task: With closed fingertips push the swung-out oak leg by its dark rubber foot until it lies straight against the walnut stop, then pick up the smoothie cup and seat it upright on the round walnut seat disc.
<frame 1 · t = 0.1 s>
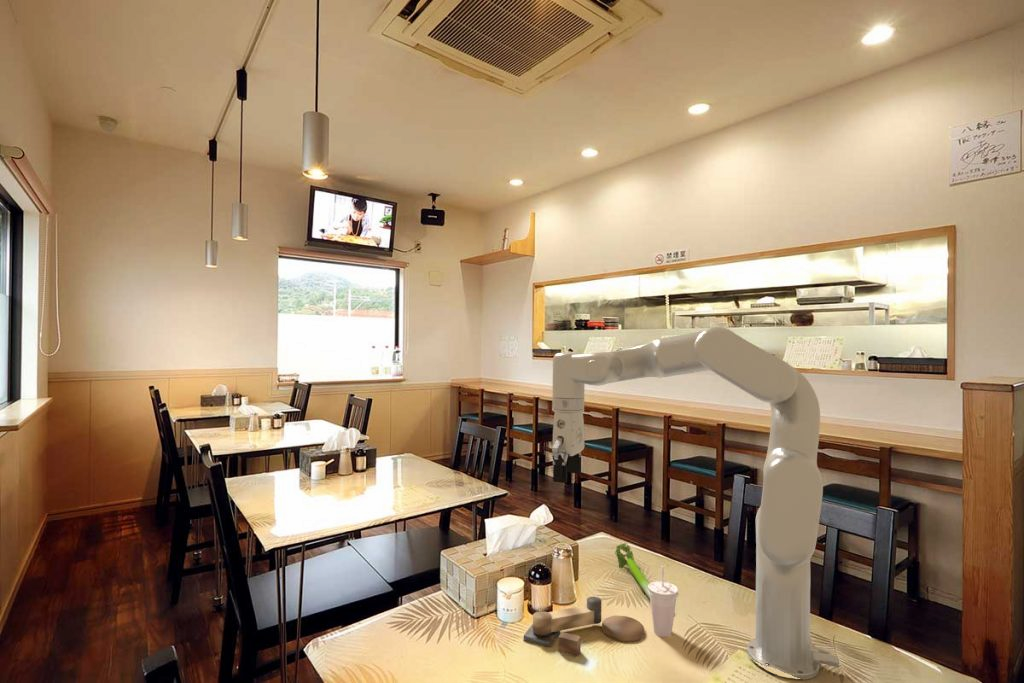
hand: (567, 477, 121), 31 cm above the table, fingers open, 9 cm apart
pivot plate: (542, 636, 109), on the table
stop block: (569, 651, 104), on the table
leek: (641, 585, 134), on the table
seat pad: (622, 630, 112), on the table
smoothie: (662, 633, 111), on the table
leg: (567, 615, 111), point 3 cm above the table, hinge at 45.0°
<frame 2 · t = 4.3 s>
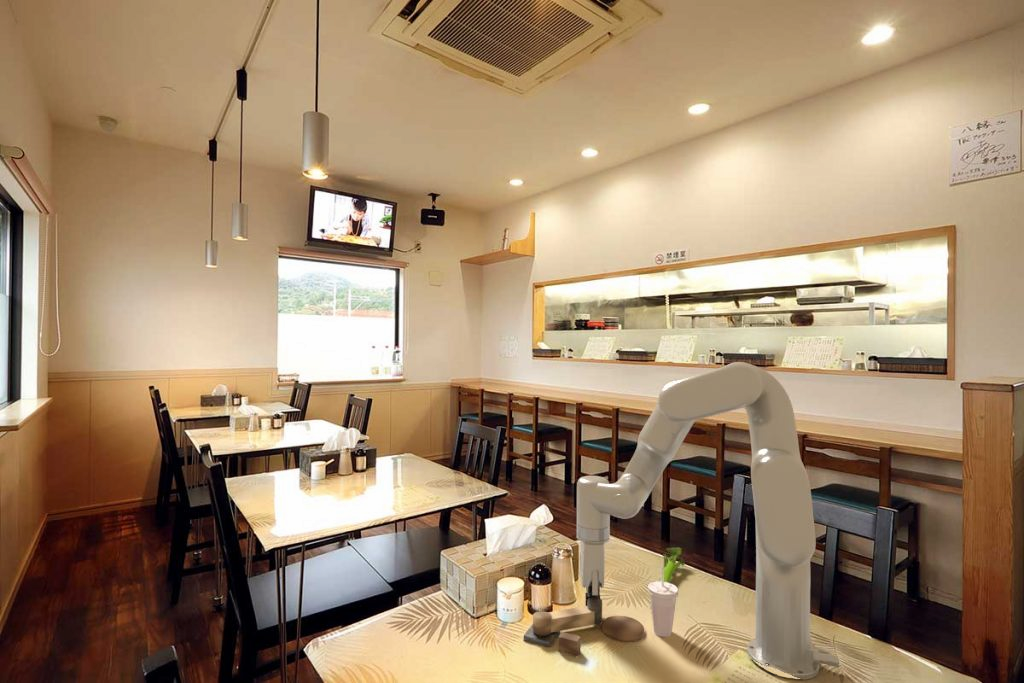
hand: (592, 611, 117), 1 cm above the table, fingers closed
leek: (668, 588, 133), on the table
leg: (568, 615, 111), point 3 cm above the table, hinge at 43.7°, touching gripper
everything else where it was.
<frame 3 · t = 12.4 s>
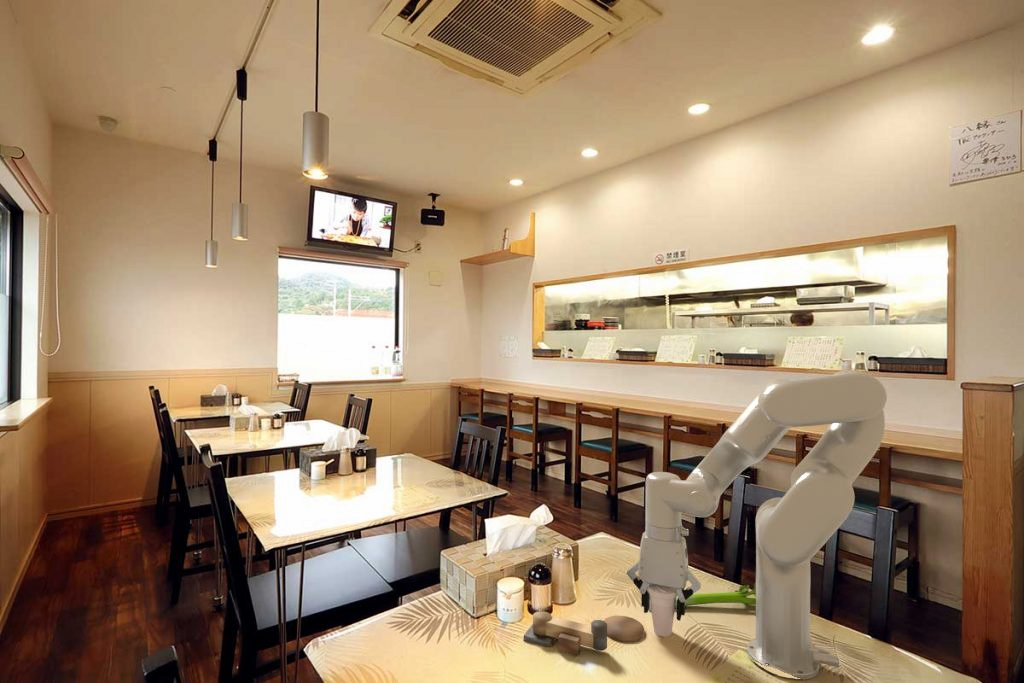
hand: (662, 613, 111), 4 cm above the table, fingers closed on smoothie, 6 cm apart
leek: (709, 610, 122), on the table
smoothie: (662, 633, 111), on the table, touching gripper
leg: (569, 627, 106), point 3 cm above the table, hinge at -1.3°, touching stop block
when the fingers open (6 cm above the table, at t = 17.4 s): smoothie drops 1 cm, resting on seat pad.
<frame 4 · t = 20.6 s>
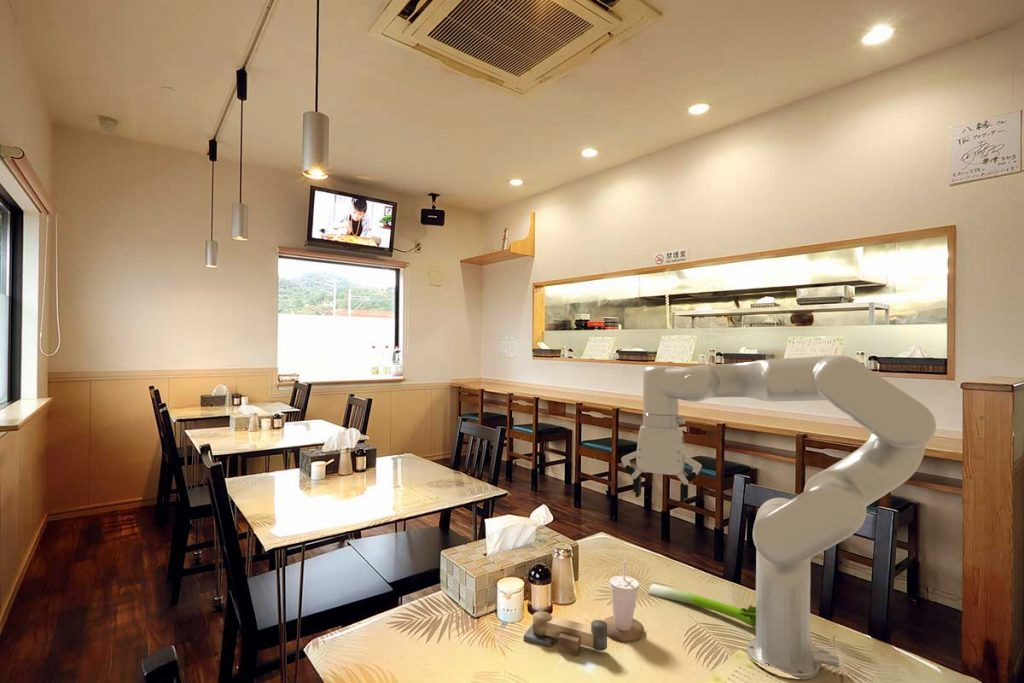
hand: (660, 498, 114), 28 cm above the table, fingers open, 9 cm apart
leek: (709, 616, 119), on the table
smoothie: (622, 626, 112), point 1 cm above the table, touching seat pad
everything else where it was.
at the end: leg at -1° (first picture: +45°); smoothie 0.1 cm from the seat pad (horizontally); smoothie tilted 2° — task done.
